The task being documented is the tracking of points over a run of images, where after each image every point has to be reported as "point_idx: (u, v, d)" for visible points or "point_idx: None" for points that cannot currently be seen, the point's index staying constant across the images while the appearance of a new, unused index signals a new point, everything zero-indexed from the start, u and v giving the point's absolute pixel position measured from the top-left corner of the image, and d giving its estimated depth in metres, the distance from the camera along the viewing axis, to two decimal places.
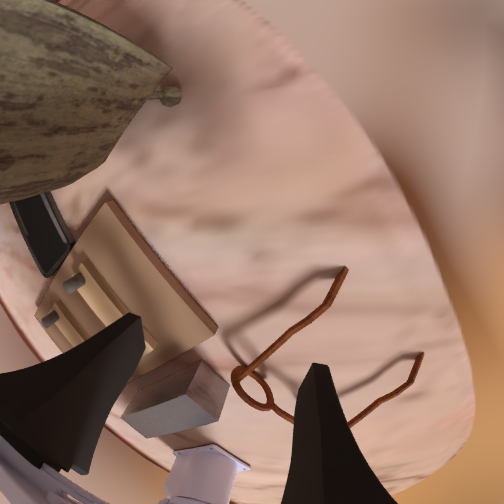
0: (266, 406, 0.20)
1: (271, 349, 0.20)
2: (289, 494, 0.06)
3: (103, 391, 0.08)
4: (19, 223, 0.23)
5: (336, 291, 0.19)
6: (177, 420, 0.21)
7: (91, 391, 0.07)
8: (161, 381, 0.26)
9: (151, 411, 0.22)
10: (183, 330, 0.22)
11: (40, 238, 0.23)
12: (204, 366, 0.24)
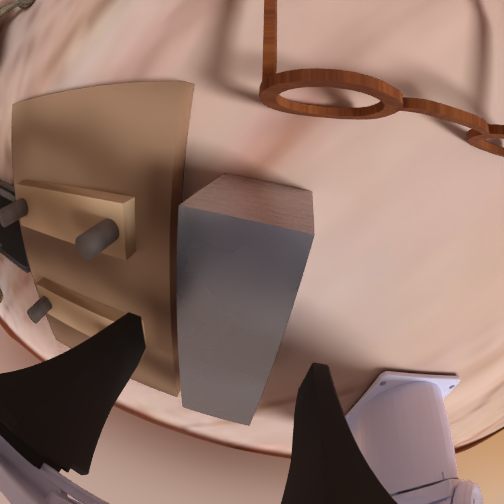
0: None
1: None
2: (289, 494, 0.06)
3: (103, 391, 0.08)
4: None
5: None
6: (240, 327, 0.10)
7: (91, 391, 0.07)
8: None
9: (188, 345, 0.11)
10: (142, 126, 0.10)
11: (6, 231, 0.17)
12: (232, 177, 0.11)
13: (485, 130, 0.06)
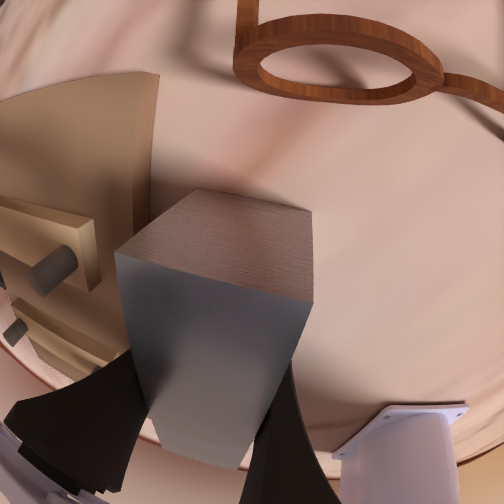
0: None
1: None
2: (246, 488, 0.06)
3: (138, 407, 0.08)
4: None
5: None
6: (214, 396, 0.07)
7: (128, 409, 0.07)
8: None
9: (156, 404, 0.08)
10: (96, 132, 0.08)
11: None
12: (205, 195, 0.09)
13: None
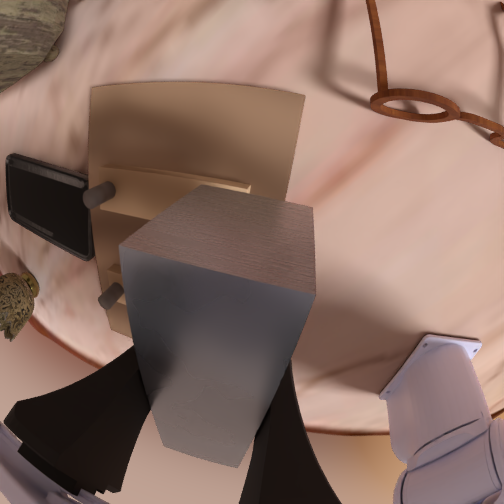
0: None
1: (373, 21, 0.08)
2: (245, 488, 0.06)
3: (138, 407, 0.08)
4: (41, 235, 0.21)
5: None
6: (216, 391, 0.07)
7: (128, 409, 0.07)
8: None
9: (158, 399, 0.08)
10: (265, 126, 0.13)
11: (62, 219, 0.20)
12: (208, 191, 0.09)
13: None
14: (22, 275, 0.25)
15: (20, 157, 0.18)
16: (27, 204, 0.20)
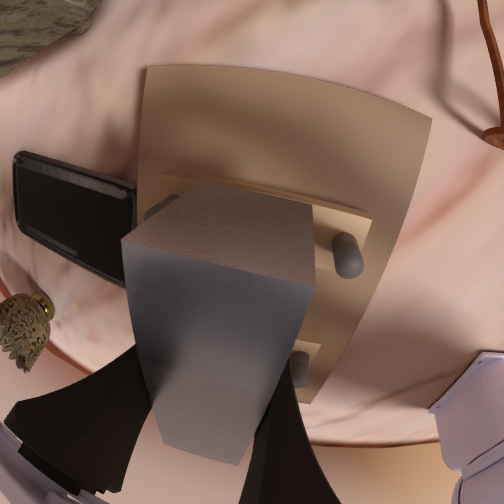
0: None
1: (495, 50, 0.05)
2: (245, 488, 0.06)
3: (138, 407, 0.08)
4: (60, 252, 0.18)
5: None
6: (217, 386, 0.07)
7: (128, 410, 0.07)
8: None
9: (159, 395, 0.08)
10: (391, 146, 0.10)
11: (92, 236, 0.17)
12: (208, 188, 0.09)
13: None
14: (34, 295, 0.22)
15: (32, 156, 0.15)
16: (41, 214, 0.17)
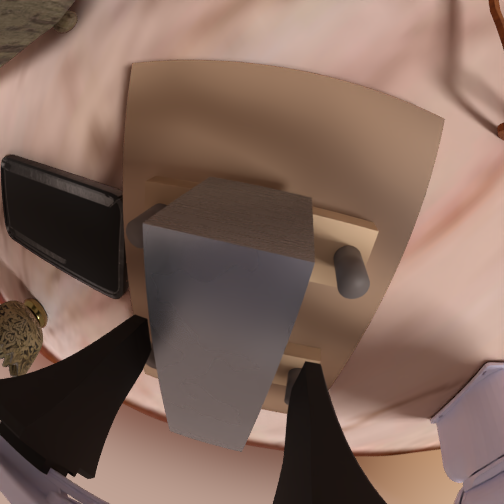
0: None
1: None
2: (281, 493, 0.06)
3: (110, 394, 0.08)
4: (49, 260, 0.17)
5: None
6: (225, 363, 0.08)
7: (98, 395, 0.07)
8: None
9: (168, 377, 0.09)
10: (400, 150, 0.09)
11: (80, 244, 0.16)
12: (216, 182, 0.10)
13: None
14: (26, 302, 0.21)
15: (19, 160, 0.14)
16: (29, 220, 0.16)
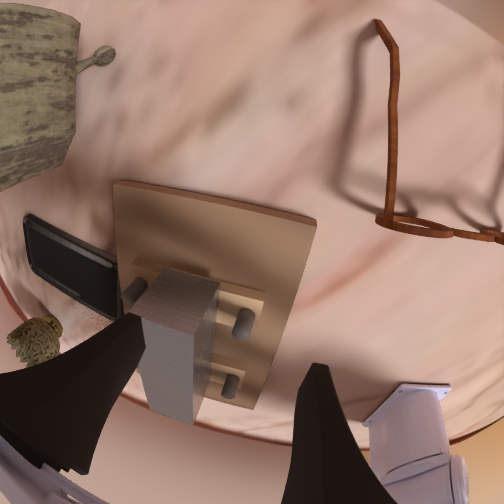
0: (446, 230, 0.12)
1: (392, 140, 0.12)
2: (289, 494, 0.06)
3: (103, 391, 0.08)
4: (67, 292, 0.25)
5: (389, 35, 0.10)
6: (170, 369, 0.15)
7: (91, 391, 0.07)
8: None
9: (145, 375, 0.16)
10: (280, 250, 0.17)
11: (90, 286, 0.23)
12: (167, 274, 0.17)
13: (492, 241, 0.11)
14: (46, 319, 0.28)
15: (39, 222, 0.21)
16: (50, 264, 0.23)
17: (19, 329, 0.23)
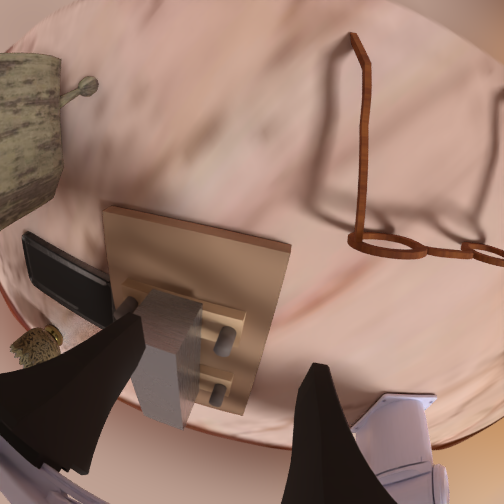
0: (418, 250, 0.12)
1: (362, 162, 0.12)
2: (289, 494, 0.06)
3: (103, 391, 0.08)
4: (66, 305, 0.26)
5: (363, 50, 0.10)
6: (158, 382, 0.17)
7: (91, 391, 0.07)
8: None
9: (137, 385, 0.18)
10: (257, 275, 0.18)
11: (87, 301, 0.24)
12: (154, 296, 0.18)
13: (470, 258, 0.12)
14: (47, 328, 0.29)
15: (37, 240, 0.22)
16: (49, 279, 0.25)
17: (22, 339, 0.24)
